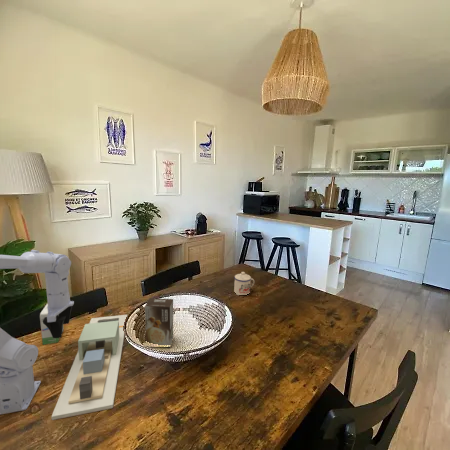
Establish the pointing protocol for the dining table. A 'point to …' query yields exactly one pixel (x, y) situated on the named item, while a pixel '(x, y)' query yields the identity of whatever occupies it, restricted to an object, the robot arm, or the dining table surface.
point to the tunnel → (98, 335)
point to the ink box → (46, 329)
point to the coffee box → (159, 321)
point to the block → (93, 361)
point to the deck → (110, 384)
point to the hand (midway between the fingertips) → (61, 330)
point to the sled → (92, 377)
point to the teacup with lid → (242, 284)
